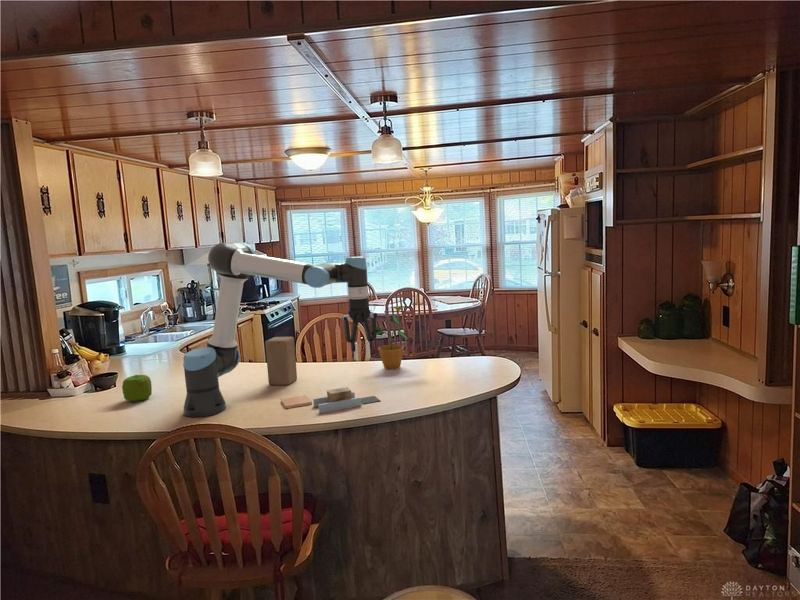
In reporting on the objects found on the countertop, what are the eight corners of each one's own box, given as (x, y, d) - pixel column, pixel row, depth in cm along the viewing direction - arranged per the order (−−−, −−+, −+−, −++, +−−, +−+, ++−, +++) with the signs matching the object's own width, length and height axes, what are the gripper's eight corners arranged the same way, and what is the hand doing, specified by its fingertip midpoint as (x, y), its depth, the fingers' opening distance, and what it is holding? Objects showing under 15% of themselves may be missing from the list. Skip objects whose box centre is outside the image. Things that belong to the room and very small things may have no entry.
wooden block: (289, 385, 231) (285, 340, 228) (267, 385, 233) (264, 340, 231) (298, 379, 241) (294, 336, 238) (277, 379, 243) (273, 336, 240)
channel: (319, 413, 192) (319, 405, 192) (313, 406, 200) (313, 398, 200) (361, 405, 198) (360, 397, 198) (354, 399, 206) (353, 391, 206)
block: (331, 409, 196) (330, 393, 195) (328, 405, 200) (326, 390, 200) (352, 405, 199) (351, 390, 198) (348, 402, 203) (347, 387, 203)
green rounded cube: (126, 398, 225) (122, 373, 224) (153, 394, 229) (150, 369, 228) (122, 405, 215) (119, 379, 214) (151, 401, 219) (148, 375, 217)
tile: (285, 408, 199) (285, 406, 199) (281, 401, 208) (280, 399, 208) (311, 404, 203) (311, 401, 203) (306, 397, 212) (306, 394, 212)
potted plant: (417, 364, 256) (414, 303, 252) (398, 374, 240) (394, 308, 236) (386, 361, 265) (383, 302, 261) (365, 370, 249) (361, 307, 245)
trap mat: (363, 404, 199) (363, 403, 199) (357, 399, 206) (357, 398, 206) (380, 401, 202) (380, 400, 202) (374, 396, 208) (374, 395, 208)
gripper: (339, 301, 192) (343, 364, 195) (383, 296, 198) (387, 357, 201) (333, 299, 199) (337, 360, 201) (376, 294, 205) (380, 353, 208)
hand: (362, 358), depth 201 cm, fingers open, 4 cm apart
